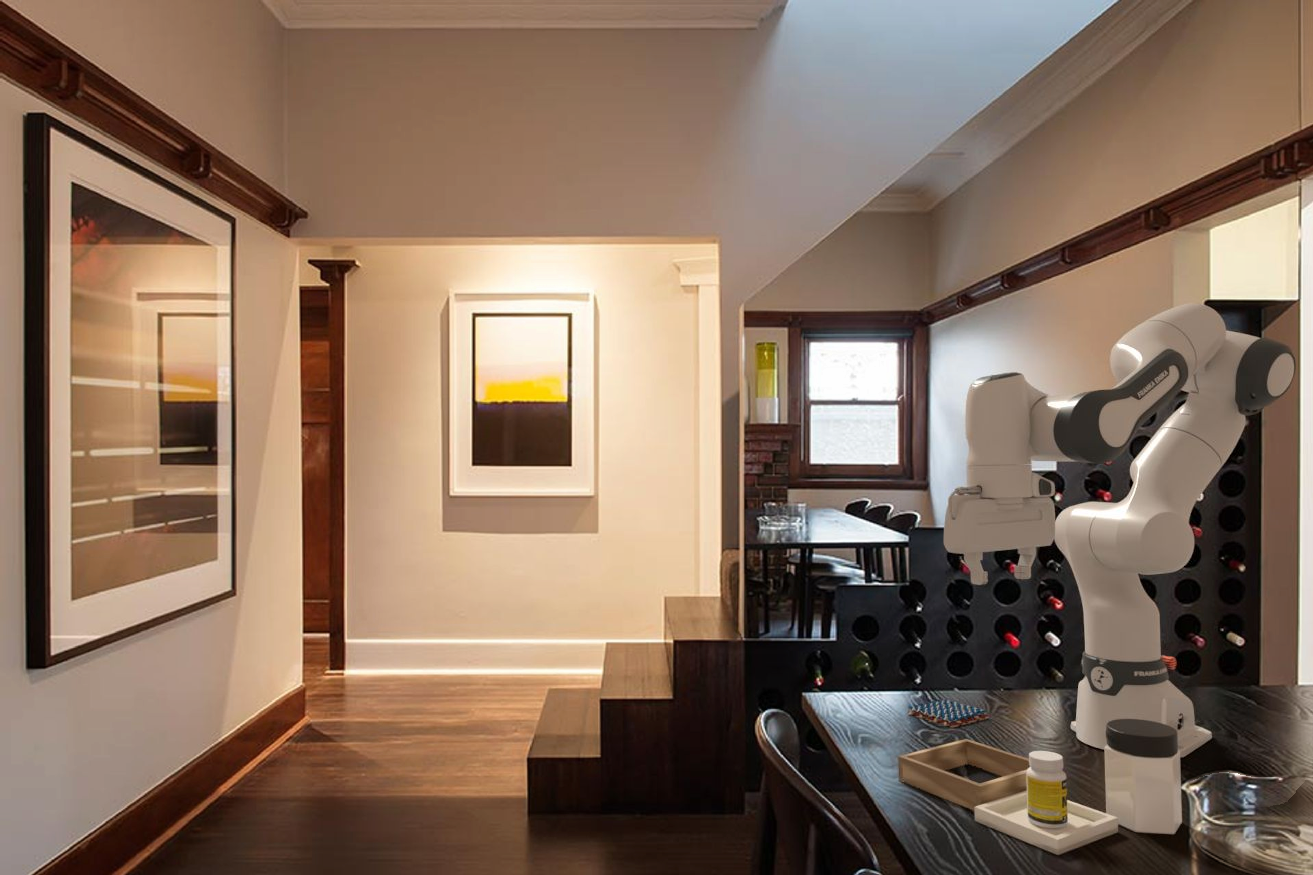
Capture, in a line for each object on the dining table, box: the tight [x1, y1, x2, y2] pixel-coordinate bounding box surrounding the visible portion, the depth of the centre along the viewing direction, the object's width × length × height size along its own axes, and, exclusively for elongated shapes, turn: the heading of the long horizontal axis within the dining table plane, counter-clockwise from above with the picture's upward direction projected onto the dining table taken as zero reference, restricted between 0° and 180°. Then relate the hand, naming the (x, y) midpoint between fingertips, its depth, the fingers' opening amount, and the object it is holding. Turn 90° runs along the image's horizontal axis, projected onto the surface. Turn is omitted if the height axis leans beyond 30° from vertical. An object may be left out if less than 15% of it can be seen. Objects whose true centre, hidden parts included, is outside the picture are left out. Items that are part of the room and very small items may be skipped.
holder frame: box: [897, 738, 1031, 812], centre depth 129 cm, size 15×15×4 cm
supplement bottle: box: [1026, 750, 1068, 829], centre depth 114 cm, size 5×5×8 cm
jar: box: [1103, 719, 1183, 835], centre depth 116 cm, size 9×8×12 cm
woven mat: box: [907, 698, 989, 728], centre depth 163 cm, size 10×11×2 cm
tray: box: [974, 790, 1119, 856], centre depth 114 cm, size 12×12×2 cm
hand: (1001, 581), depth 129 cm, fingers open, 8 cm apart
